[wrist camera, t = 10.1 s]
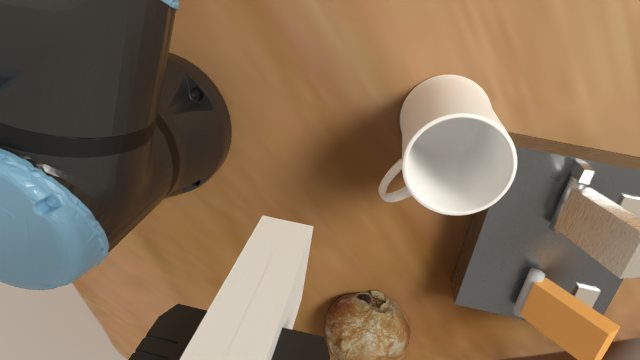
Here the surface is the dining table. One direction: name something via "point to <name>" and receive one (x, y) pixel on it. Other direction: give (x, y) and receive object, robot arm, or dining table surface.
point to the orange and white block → (564, 318)
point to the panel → (554, 228)
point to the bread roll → (367, 328)
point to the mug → (452, 148)
